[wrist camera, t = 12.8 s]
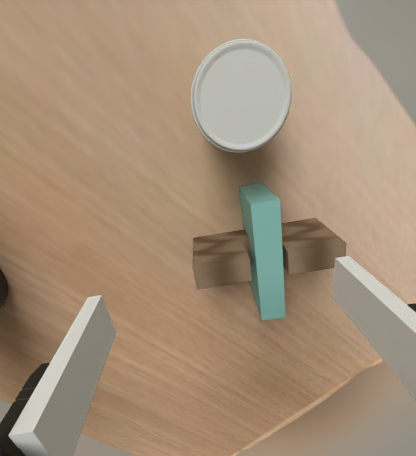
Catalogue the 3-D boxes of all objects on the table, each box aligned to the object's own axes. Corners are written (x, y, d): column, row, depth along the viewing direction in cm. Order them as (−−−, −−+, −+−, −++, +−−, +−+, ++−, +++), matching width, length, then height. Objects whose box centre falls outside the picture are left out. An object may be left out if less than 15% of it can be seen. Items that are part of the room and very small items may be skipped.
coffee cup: (275, 114, 34) (312, 110, 23) (219, 157, 36) (230, 173, 25) (236, 48, 31) (258, 7, 20) (178, 99, 33) (168, 87, 22)
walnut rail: (197, 256, 42) (197, 289, 34) (193, 237, 41) (192, 267, 33) (315, 237, 42) (344, 266, 33) (315, 218, 40) (346, 242, 32)
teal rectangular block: (249, 284, 45) (261, 320, 37) (238, 186, 38) (250, 204, 29) (269, 281, 45) (285, 317, 36) (261, 182, 38) (280, 199, 29)
